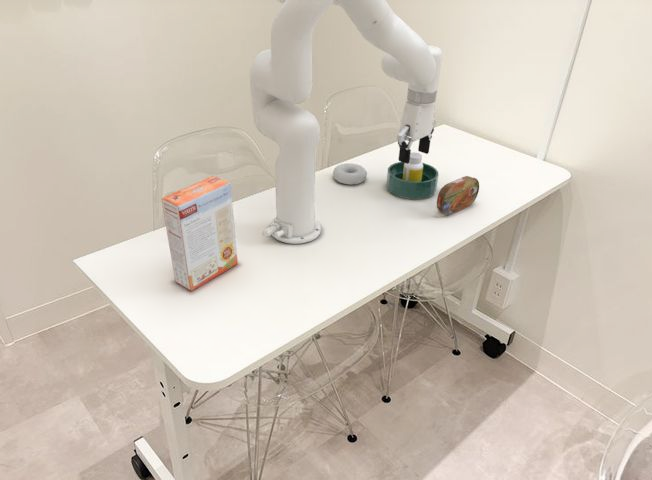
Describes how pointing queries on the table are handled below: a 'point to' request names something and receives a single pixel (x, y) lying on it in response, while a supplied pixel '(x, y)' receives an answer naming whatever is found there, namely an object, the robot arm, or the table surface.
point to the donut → (349, 173)
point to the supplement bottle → (413, 168)
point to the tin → (457, 195)
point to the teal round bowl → (412, 188)
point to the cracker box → (200, 231)
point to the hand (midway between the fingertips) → (413, 157)
